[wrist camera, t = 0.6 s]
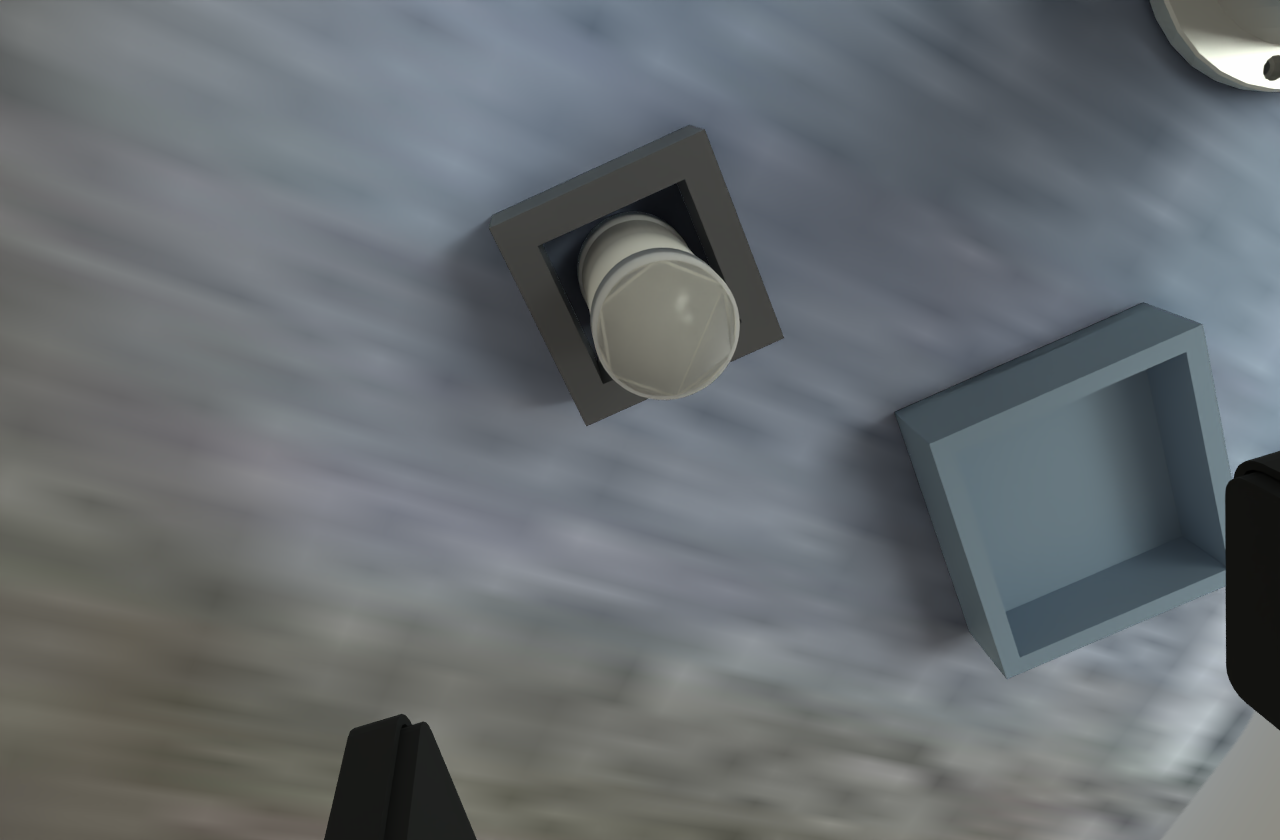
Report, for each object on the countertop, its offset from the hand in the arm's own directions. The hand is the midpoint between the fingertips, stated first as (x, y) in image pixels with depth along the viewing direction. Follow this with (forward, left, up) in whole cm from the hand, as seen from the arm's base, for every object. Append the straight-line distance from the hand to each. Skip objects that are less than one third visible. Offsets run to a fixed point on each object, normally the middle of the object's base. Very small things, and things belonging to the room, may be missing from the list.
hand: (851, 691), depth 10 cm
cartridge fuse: (0, 0, -26) cm, 26 cm away
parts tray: (-13, +16, -26) cm, 33 cm away
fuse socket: (0, 0, -26) cm, 26 cm away
